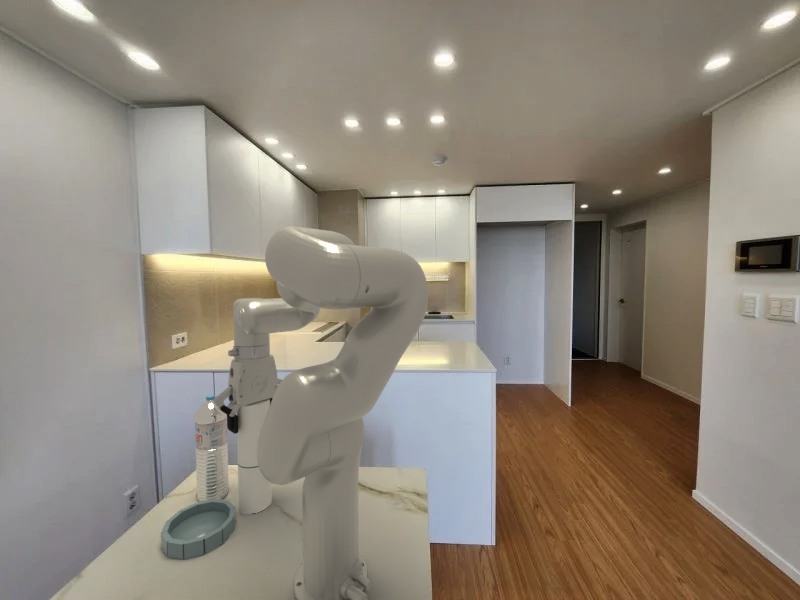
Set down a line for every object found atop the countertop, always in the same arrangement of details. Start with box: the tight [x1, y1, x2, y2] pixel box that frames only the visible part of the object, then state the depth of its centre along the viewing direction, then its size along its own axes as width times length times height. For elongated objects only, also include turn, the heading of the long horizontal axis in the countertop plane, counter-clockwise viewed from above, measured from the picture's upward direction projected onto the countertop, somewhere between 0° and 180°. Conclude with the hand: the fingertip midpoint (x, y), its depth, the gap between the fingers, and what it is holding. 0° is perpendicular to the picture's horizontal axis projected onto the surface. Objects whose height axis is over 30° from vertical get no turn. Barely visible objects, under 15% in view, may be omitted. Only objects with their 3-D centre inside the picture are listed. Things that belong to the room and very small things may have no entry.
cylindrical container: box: [236, 399, 273, 515], centre depth 79 cm, size 7×7×25 cm
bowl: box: [160, 499, 237, 560], centre depth 71 cm, size 13×13×3 cm
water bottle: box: [193, 394, 230, 502], centre depth 82 cm, size 7×7×25 cm
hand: (253, 424), depth 79 cm, fingers open, 9 cm apart
